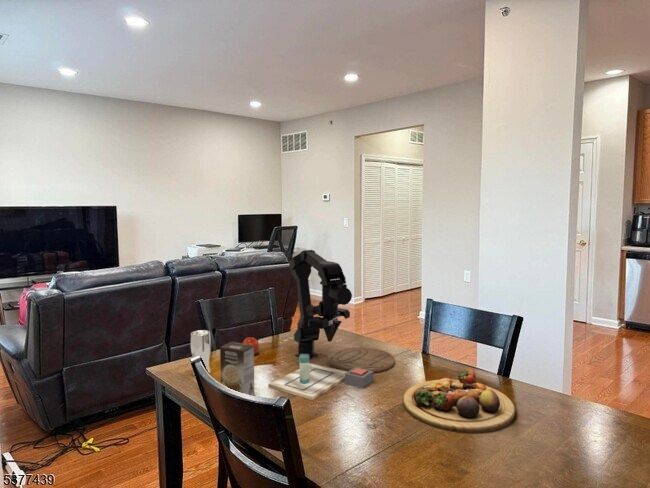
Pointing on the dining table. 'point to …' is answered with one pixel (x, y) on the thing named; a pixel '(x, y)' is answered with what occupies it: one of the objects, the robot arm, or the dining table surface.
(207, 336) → the beer glass
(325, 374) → the board
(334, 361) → the trivet
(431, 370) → the dining table surface
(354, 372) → the button
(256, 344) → the pomegranate
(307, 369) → the teal-banded white cylinder
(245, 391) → the coffee box
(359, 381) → the button housing
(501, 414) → the wooden plate with food
